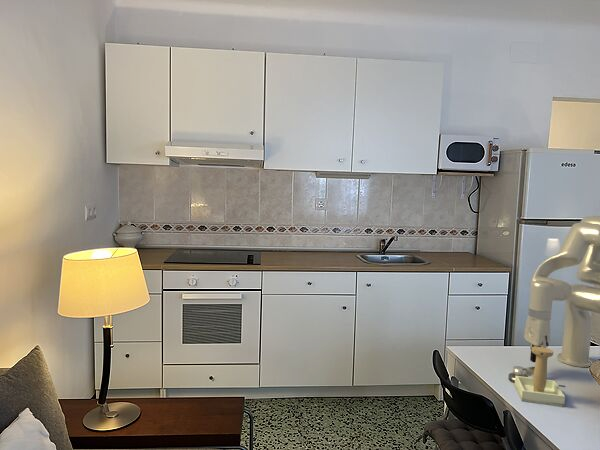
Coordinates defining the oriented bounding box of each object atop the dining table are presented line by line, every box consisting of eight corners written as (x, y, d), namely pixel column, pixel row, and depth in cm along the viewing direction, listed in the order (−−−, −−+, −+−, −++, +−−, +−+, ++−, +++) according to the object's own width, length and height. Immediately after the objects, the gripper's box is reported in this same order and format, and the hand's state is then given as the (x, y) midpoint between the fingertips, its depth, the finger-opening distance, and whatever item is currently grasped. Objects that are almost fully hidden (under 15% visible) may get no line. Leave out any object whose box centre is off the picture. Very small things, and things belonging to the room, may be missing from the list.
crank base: (506, 375, 177) (507, 371, 176) (562, 382, 172) (562, 378, 172) (510, 383, 170) (510, 379, 170) (568, 390, 165) (568, 386, 165)
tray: (514, 385, 168) (515, 375, 168) (553, 390, 165) (554, 380, 165) (521, 401, 156) (522, 390, 156) (563, 406, 153) (564, 396, 153)
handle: (549, 397, 157) (553, 353, 156) (527, 392, 160) (531, 349, 159) (549, 392, 161) (553, 349, 160) (528, 387, 164) (532, 345, 163)
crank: (519, 379, 169) (520, 366, 169) (509, 374, 173) (510, 361, 173) (547, 375, 174) (548, 362, 174) (537, 370, 178) (539, 357, 178)
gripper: (519, 308, 184) (515, 353, 186) (540, 319, 169) (536, 369, 171) (538, 308, 185) (534, 354, 187) (561, 320, 170) (556, 369, 172)
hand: (535, 361), depth 179 cm, fingers closed
